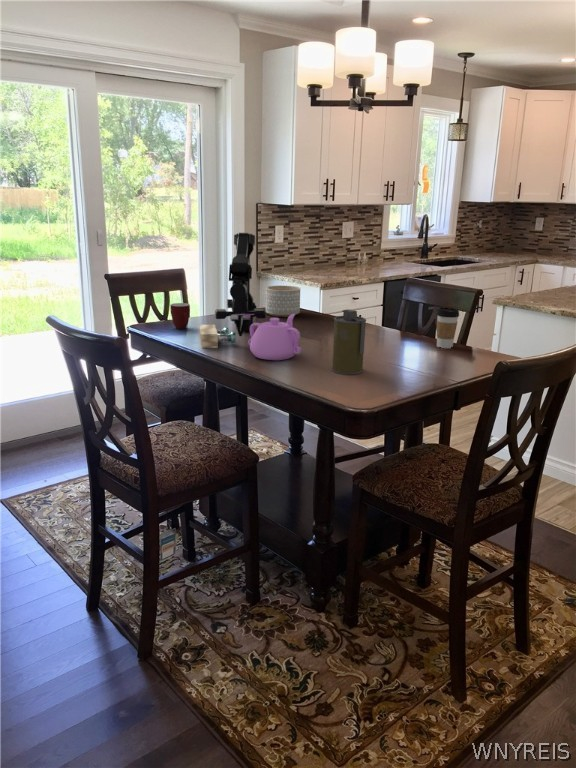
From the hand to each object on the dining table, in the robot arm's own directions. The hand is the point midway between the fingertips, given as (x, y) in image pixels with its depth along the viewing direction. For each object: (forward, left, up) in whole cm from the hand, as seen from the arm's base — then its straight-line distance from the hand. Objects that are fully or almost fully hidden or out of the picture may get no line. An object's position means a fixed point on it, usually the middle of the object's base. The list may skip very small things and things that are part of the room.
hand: (240, 336), depth 230 cm
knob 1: (+8, -8, -3) cm, 12 cm away
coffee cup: (-79, +11, -3) cm, 79 cm away
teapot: (-12, +17, -4) cm, 21 cm away
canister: (-32, +39, -3) cm, 50 cm away
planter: (-27, -58, -4) cm, 64 cm away
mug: (+21, -30, -3) cm, 37 cm away
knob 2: (+7, 0, -3) cm, 7 cm away
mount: (+12, -4, -3) cm, 13 cm away
